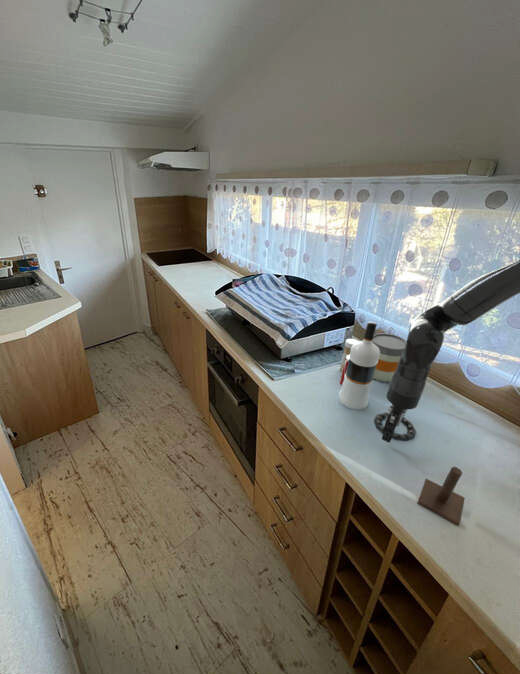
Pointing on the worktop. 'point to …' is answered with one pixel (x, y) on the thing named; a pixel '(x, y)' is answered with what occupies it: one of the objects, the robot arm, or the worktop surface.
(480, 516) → the worktop surface
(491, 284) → the robot arm
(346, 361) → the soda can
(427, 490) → the post
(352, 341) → the sprinkles bottle
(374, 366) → the vodka
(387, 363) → the reusable coffee cup
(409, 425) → the ring
